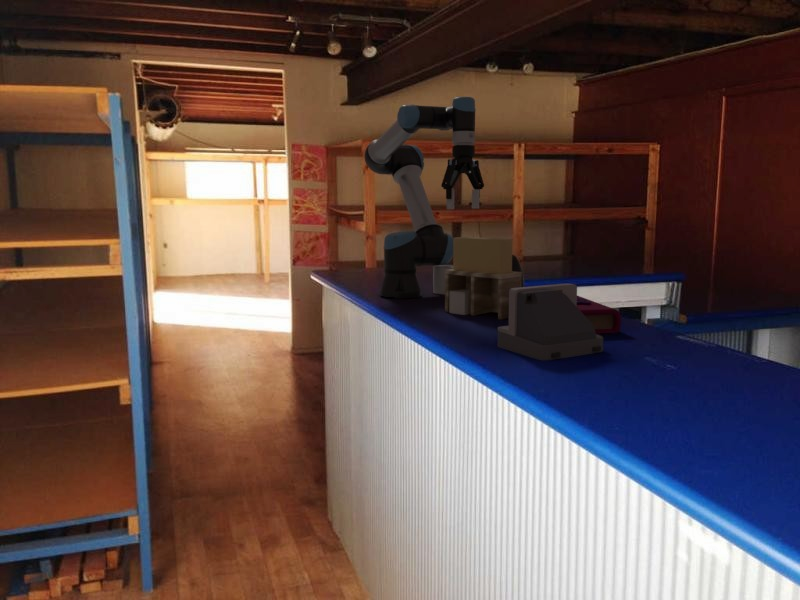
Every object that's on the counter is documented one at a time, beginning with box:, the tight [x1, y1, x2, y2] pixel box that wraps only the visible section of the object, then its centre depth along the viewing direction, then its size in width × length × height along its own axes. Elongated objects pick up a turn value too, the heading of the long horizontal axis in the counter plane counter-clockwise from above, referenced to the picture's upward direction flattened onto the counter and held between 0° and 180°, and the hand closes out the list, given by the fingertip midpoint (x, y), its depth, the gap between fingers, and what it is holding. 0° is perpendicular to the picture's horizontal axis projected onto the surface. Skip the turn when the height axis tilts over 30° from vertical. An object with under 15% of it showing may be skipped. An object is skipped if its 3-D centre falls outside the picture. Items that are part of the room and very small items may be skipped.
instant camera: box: [497, 282, 604, 361], centre depth 163 cm, size 21×21×15 cm
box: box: [448, 288, 471, 316], centre depth 215 cm, size 6×8×7 cm
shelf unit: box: [444, 269, 523, 320], centre depth 213 cm, size 22×10×13 cm, turn 46°
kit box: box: [452, 236, 513, 274], centre depth 211 cm, size 6×18×10 cm, turn 46°
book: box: [577, 295, 622, 335], centre depth 193 cm, size 21×28×8 cm
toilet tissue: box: [432, 264, 453, 295], centre depth 259 cm, size 11×12×10 cm
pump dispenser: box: [512, 253, 525, 287], centre depth 249 cm, size 10×10×15 cm
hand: (463, 208), depth 234 cm, fingers open, 13 cm apart
